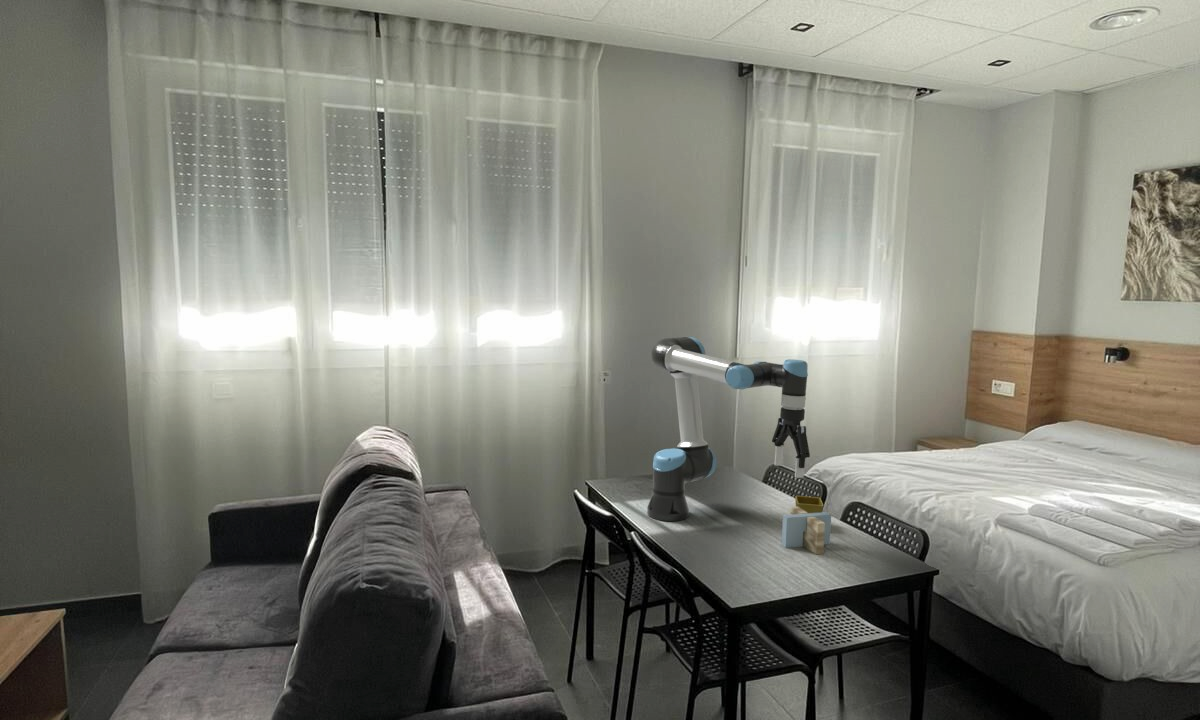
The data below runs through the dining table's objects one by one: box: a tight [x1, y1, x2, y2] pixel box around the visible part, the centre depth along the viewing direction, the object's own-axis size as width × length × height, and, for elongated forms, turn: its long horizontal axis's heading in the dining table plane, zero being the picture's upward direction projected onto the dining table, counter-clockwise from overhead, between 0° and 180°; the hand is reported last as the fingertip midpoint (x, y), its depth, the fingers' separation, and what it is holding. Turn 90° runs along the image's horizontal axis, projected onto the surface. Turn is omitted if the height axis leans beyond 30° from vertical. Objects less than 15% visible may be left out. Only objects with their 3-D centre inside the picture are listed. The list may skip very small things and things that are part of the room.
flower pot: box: [794, 495, 824, 513], centre depth 230 cm, size 9×9×9 cm
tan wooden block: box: [790, 506, 825, 555], centre depth 212 cm, size 16×2×10 cm, turn 14°
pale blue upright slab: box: [781, 511, 832, 549], centre depth 212 cm, size 16×2×10 cm, turn 104°
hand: (788, 471), depth 214 cm, fingers open, 13 cm apart
